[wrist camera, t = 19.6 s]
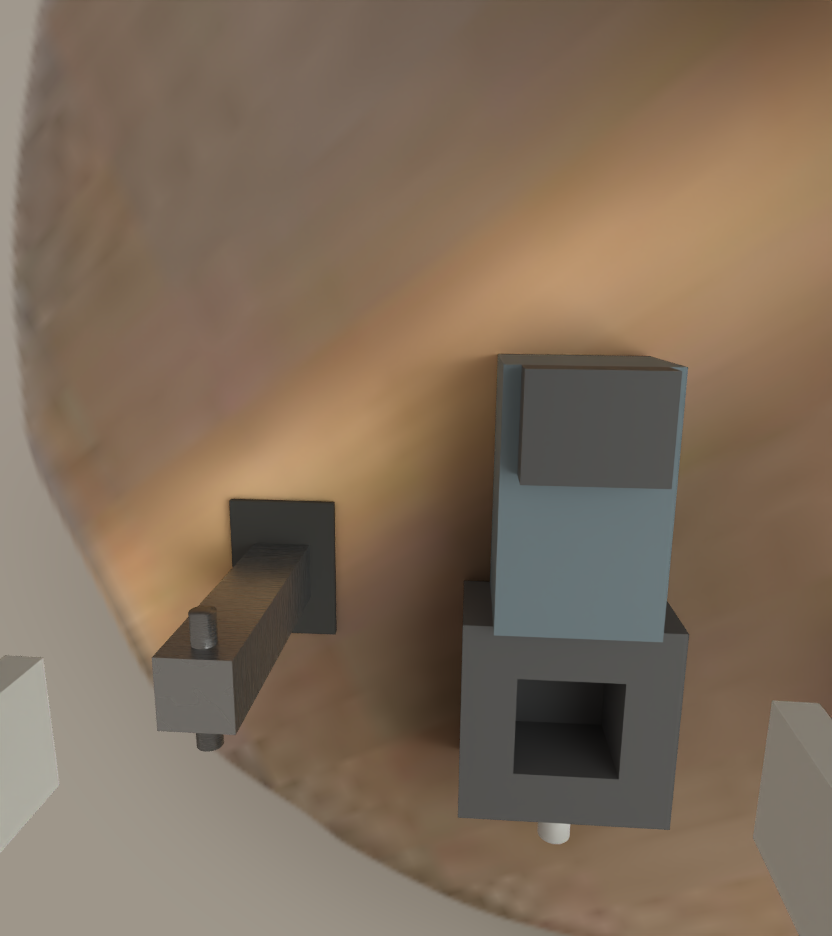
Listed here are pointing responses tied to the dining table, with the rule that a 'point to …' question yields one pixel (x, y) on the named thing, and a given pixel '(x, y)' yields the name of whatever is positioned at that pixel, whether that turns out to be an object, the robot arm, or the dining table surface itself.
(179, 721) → the gray block with peg
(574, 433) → the block with square socket
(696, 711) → the dining table surface
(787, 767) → the robot arm
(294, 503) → the mat
